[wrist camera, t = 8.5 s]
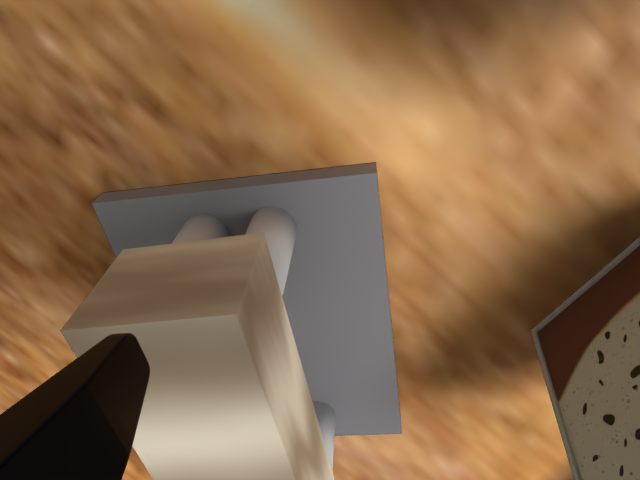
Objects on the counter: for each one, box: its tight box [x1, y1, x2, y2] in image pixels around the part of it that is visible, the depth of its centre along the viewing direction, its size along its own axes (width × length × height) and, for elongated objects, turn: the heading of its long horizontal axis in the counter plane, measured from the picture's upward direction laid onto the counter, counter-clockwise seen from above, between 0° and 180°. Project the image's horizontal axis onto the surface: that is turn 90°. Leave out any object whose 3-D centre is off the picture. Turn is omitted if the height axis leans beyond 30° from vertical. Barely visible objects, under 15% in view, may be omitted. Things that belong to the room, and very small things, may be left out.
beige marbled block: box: [61, 232, 335, 480], centre depth 18 cm, size 16×5×4 cm, turn 10°
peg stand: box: [92, 163, 402, 469], centre depth 22 cm, size 12×16×5 cm
